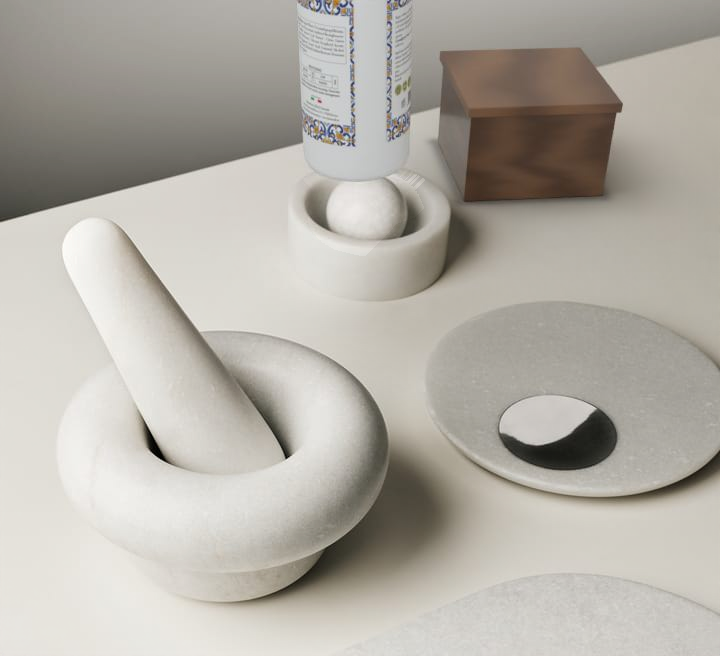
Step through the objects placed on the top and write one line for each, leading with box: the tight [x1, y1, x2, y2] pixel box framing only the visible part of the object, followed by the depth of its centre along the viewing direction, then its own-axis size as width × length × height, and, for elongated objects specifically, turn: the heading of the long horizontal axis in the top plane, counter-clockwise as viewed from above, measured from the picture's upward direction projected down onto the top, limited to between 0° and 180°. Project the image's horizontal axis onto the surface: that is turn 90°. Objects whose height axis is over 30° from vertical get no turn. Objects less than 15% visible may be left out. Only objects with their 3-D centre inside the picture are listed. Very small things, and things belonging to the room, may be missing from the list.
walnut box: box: [437, 46, 624, 202], centre depth 98 cm, size 13×13×8 cm
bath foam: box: [295, 0, 413, 183], centre depth 69 cm, size 7×7×20 cm
